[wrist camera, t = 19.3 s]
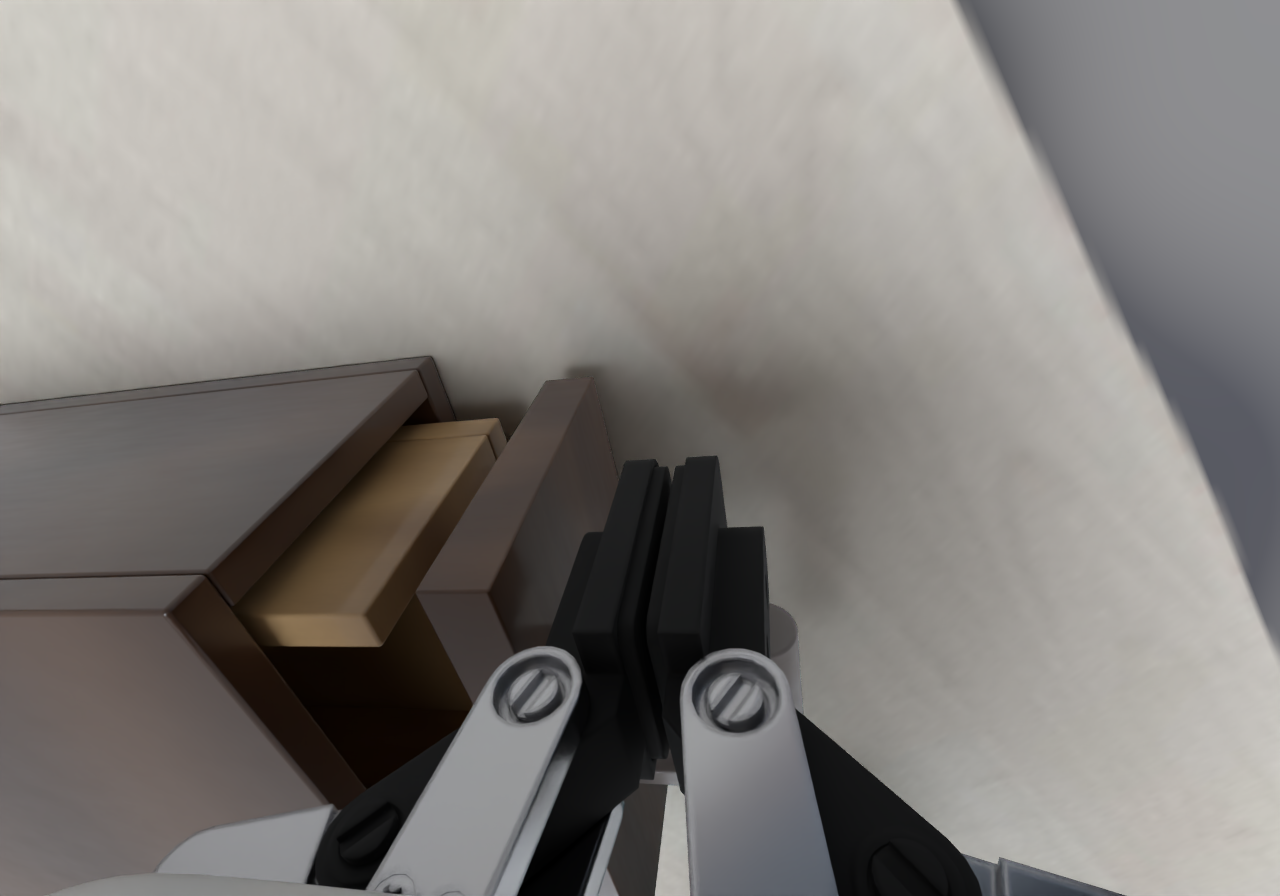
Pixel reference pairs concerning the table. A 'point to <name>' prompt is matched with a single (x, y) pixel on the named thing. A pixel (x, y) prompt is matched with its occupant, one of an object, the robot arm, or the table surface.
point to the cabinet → (166, 608)
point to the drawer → (454, 591)
